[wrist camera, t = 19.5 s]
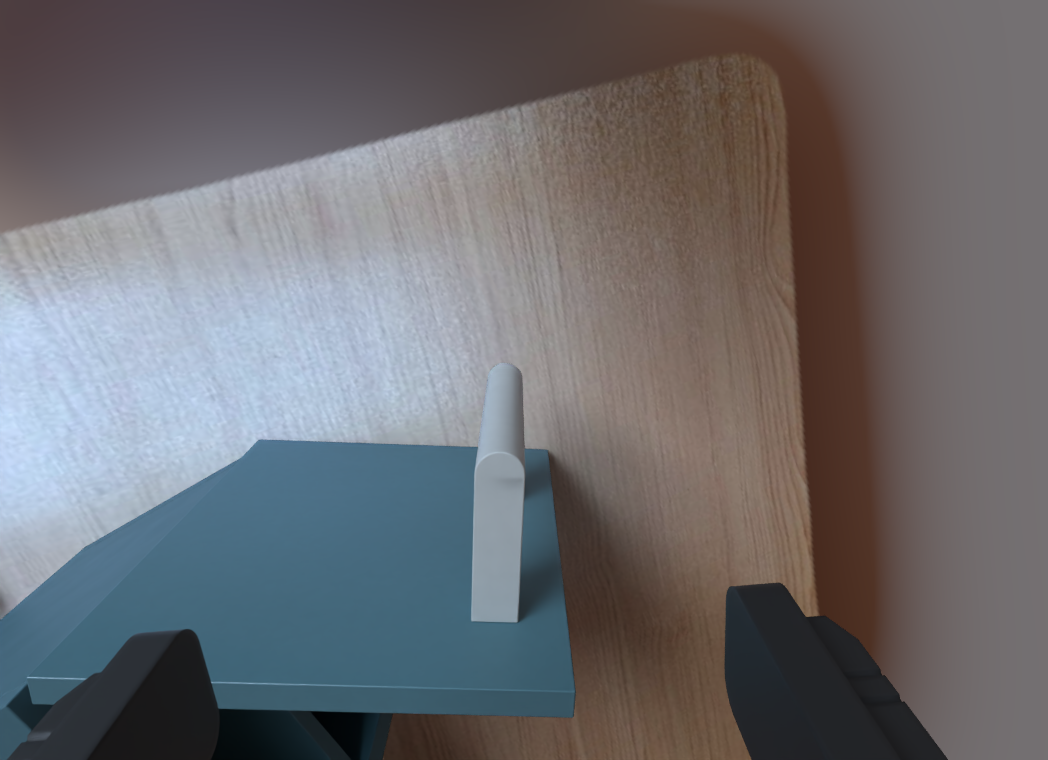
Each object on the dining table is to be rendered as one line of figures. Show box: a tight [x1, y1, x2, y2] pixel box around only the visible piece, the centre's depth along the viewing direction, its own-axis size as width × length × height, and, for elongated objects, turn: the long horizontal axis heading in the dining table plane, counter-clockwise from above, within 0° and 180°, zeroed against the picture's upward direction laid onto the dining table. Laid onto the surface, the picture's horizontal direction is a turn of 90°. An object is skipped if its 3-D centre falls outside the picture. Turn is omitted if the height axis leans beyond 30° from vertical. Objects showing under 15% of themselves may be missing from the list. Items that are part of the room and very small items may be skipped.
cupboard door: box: [26, 363, 576, 718], centre depth 26 cm, size 7×16×18 cm, turn 87°
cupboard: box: [0, 458, 393, 760], centre depth 30 cm, size 12×16×18 cm
